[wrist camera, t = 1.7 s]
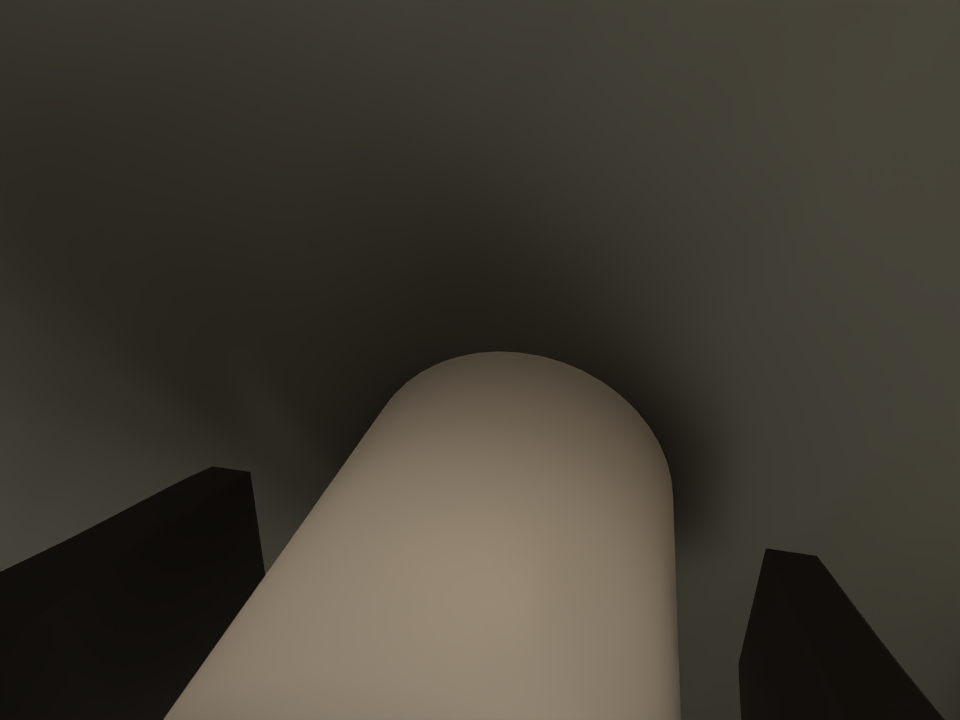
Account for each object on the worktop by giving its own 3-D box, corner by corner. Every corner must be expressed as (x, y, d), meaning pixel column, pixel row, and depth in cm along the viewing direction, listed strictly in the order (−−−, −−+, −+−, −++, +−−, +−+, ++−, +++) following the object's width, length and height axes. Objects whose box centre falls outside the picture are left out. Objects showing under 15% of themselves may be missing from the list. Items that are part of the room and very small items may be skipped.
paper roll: (652, 634, 12) (650, 1122, 7) (374, 585, 13) (176, 980, 8) (695, 371, 10) (740, 776, 5) (358, 335, 11) (71, 637, 6)
